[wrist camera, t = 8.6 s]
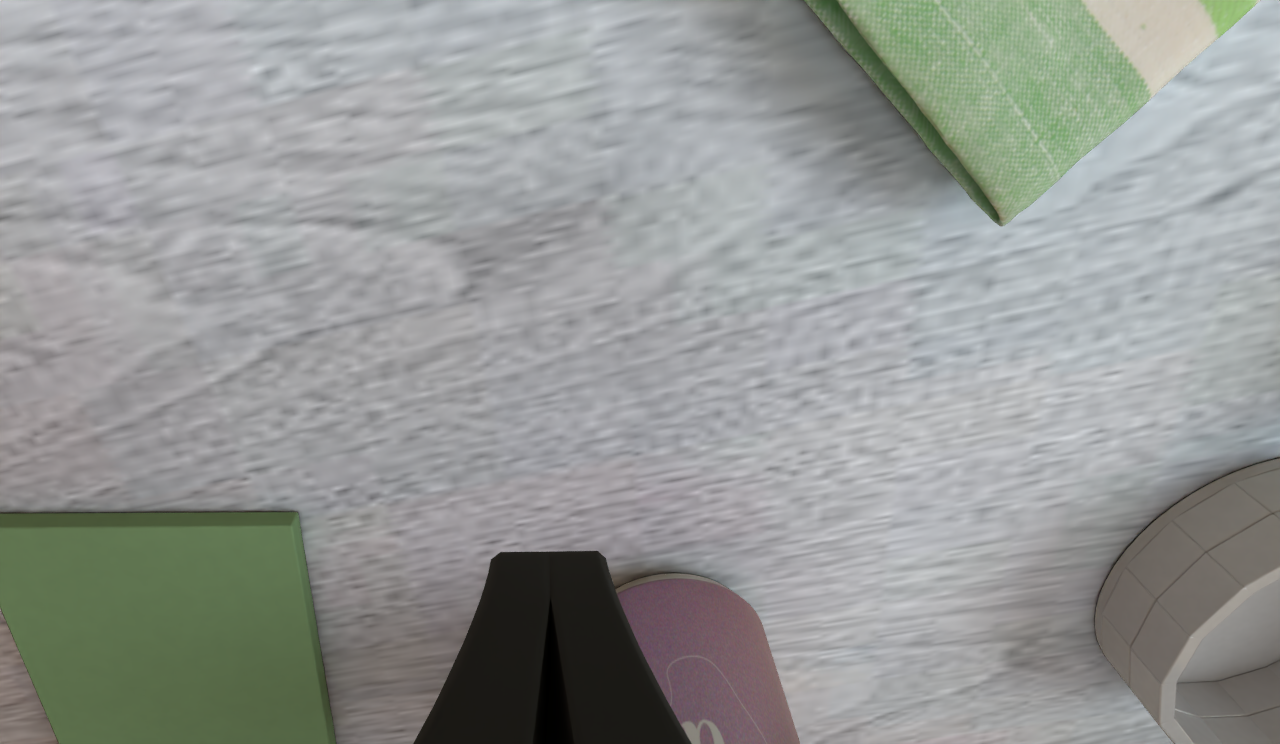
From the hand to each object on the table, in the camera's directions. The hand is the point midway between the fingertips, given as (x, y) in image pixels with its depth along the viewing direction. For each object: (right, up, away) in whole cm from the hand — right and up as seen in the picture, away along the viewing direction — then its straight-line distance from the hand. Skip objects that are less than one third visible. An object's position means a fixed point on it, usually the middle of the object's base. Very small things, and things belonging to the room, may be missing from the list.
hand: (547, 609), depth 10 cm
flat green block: (-12, -5, +12) cm, 18 cm away
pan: (+21, -4, +16) cm, 26 cm away
